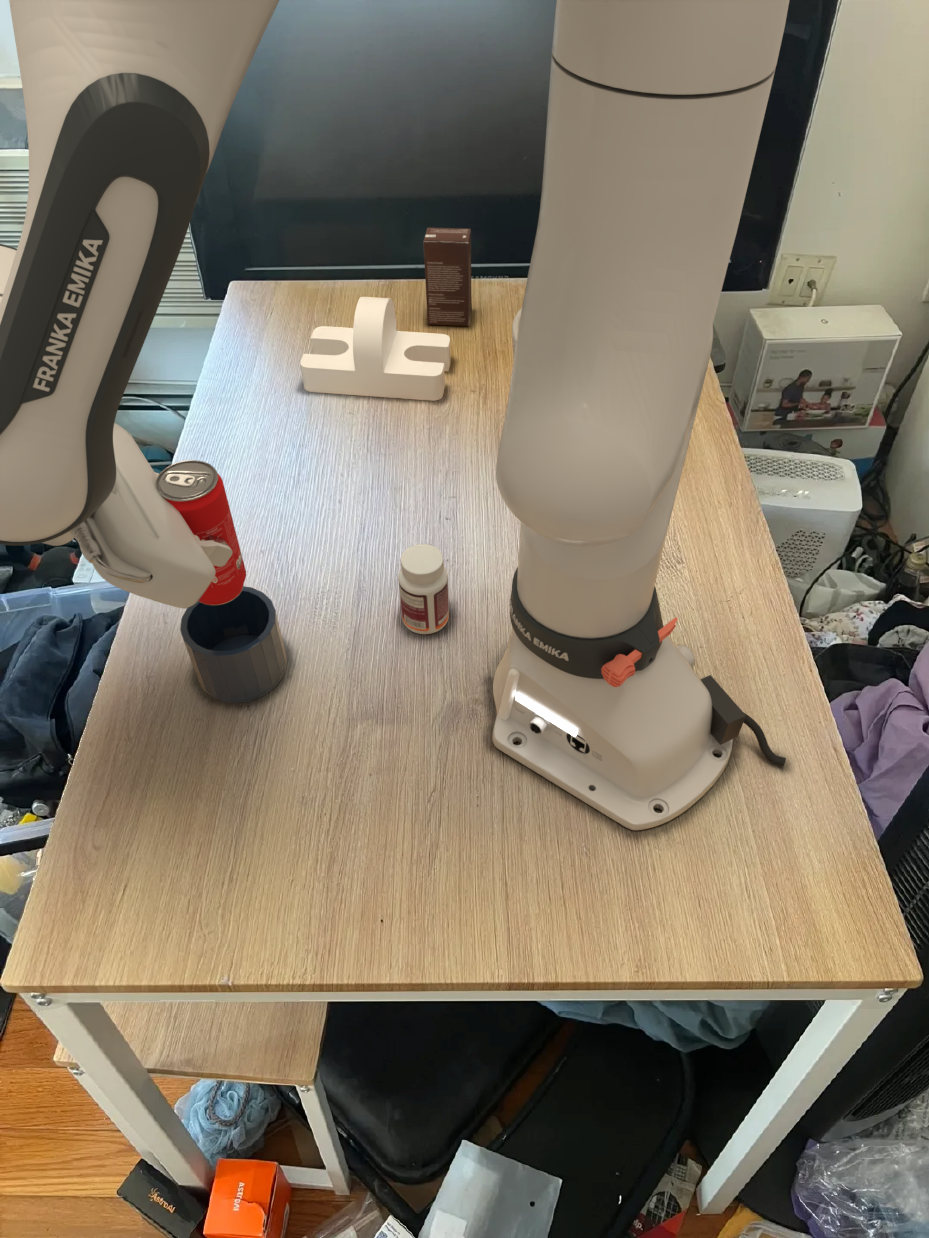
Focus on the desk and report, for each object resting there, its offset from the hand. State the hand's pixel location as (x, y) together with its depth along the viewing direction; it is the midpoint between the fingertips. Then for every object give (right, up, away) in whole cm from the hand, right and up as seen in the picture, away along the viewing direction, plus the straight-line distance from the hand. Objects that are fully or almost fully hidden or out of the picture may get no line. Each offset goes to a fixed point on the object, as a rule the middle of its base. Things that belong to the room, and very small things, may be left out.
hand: (209, 530), depth 74 cm
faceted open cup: (0, -12, +13) cm, 18 cm away
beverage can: (-1, -5, +5) cm, 7 cm away
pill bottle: (+17, -7, +17) cm, 25 cm away
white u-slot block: (+9, +25, +45) cm, 52 cm away
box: (+19, +35, +54) cm, 67 cm away
